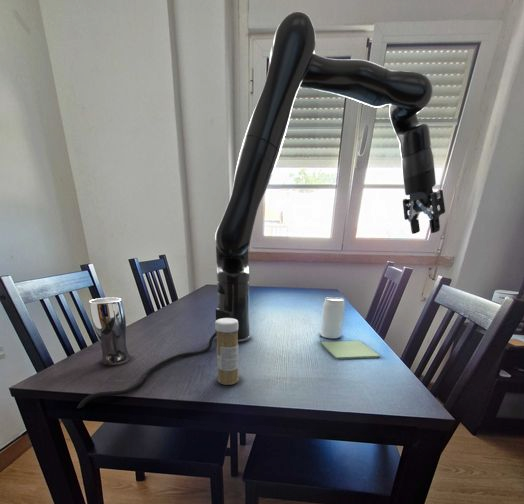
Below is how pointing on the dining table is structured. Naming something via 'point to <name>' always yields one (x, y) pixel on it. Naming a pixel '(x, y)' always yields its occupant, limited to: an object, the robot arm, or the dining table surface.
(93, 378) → the dining table surface
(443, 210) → the robot arm
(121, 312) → the beer glass
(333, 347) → the can mat
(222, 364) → the sprinkles bottle
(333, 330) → the can
